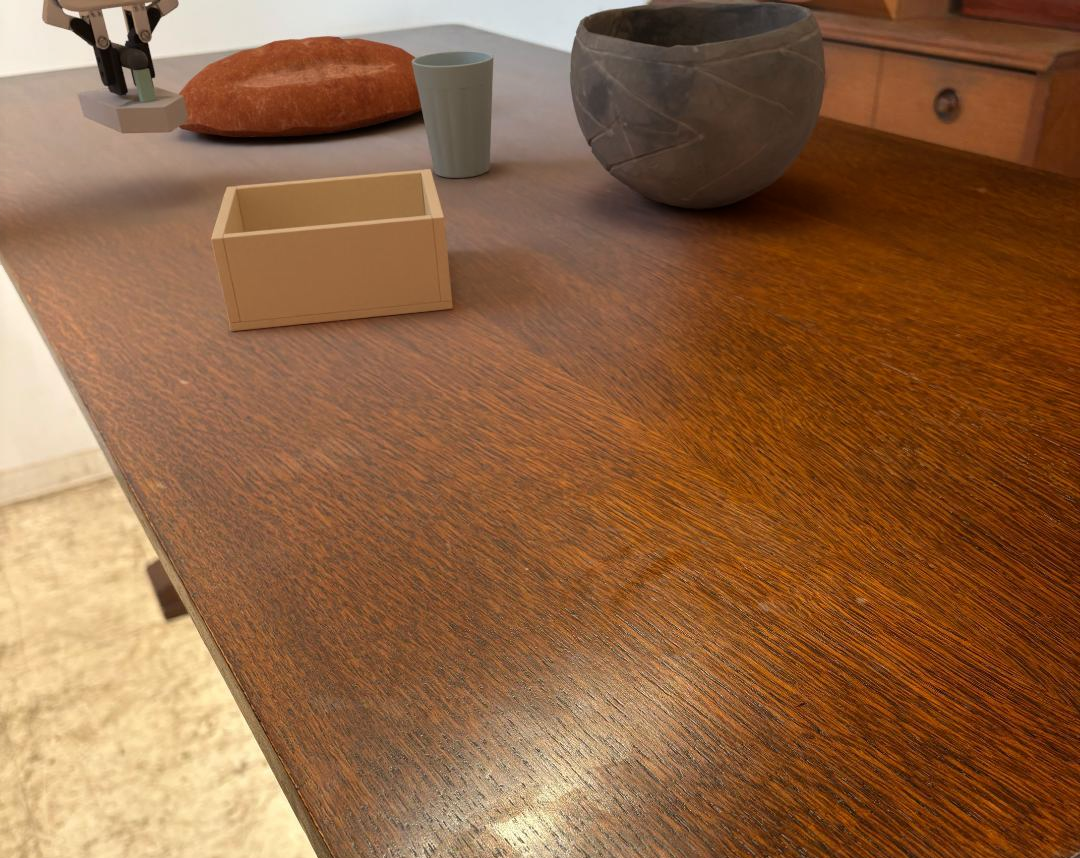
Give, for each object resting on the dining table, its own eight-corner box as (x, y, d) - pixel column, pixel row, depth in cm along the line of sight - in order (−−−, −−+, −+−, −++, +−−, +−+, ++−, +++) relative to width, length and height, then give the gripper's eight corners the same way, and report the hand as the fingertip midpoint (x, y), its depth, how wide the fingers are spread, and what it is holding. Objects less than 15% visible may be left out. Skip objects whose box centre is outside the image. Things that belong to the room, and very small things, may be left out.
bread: (469, 123, 125) (462, 39, 120) (185, 160, 116) (165, 71, 111) (419, 87, 142) (412, 13, 137) (170, 117, 134) (152, 39, 129)
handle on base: (83, 117, 105) (63, 44, 101) (147, 105, 108) (130, 34, 104) (135, 139, 96) (116, 60, 92) (203, 125, 99) (187, 48, 96)
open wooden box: (230, 331, 76) (210, 238, 72) (243, 270, 86) (226, 186, 82) (452, 309, 77) (444, 217, 74) (438, 251, 88) (430, 168, 84)
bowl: (561, 175, 105) (555, 3, 96) (776, 160, 106) (789, -11, 97) (588, 245, 87) (585, 43, 79) (845, 227, 88) (868, 25, 80)
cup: (426, 162, 111) (415, 52, 105) (501, 158, 111) (494, 48, 105) (419, 183, 105) (407, 67, 99) (499, 179, 105) (491, 63, 99)
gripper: (148, -148, 97) (194, 72, 108) (-36, -136, 89) (33, 100, 100) (182, -149, 92) (227, 81, 103) (-9, -136, 84) (60, 112, 95)
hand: (131, 89), depth 101 cm, fingers closed on handle on base
